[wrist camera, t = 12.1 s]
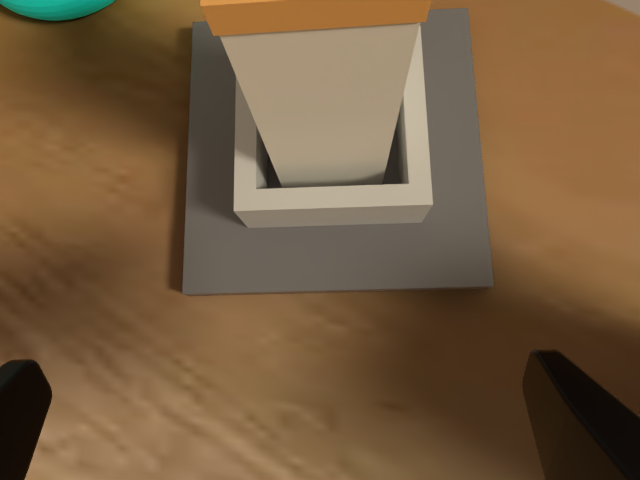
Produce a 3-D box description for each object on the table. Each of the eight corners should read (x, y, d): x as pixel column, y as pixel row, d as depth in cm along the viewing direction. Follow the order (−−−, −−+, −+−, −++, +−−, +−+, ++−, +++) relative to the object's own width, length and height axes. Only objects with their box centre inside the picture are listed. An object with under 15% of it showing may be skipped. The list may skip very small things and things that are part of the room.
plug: (384, 188, 22) (433, -10, 10) (281, 193, 23) (200, 6, 10) (377, 94, 23) (415, -198, 11) (279, 99, 24) (203, -179, 11)
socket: (487, 288, 22) (517, 277, 18) (189, 296, 23) (157, 286, 19) (463, 20, 25) (484, -38, 21) (198, 34, 26) (172, -21, 22)
